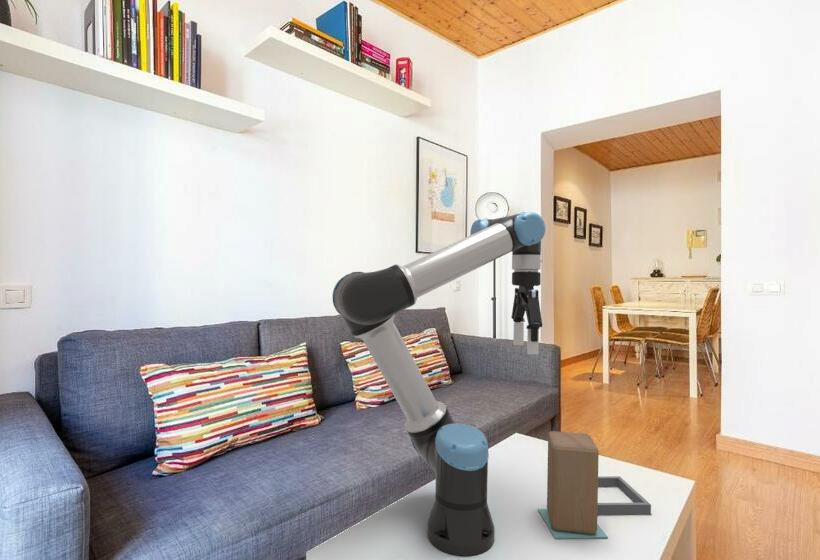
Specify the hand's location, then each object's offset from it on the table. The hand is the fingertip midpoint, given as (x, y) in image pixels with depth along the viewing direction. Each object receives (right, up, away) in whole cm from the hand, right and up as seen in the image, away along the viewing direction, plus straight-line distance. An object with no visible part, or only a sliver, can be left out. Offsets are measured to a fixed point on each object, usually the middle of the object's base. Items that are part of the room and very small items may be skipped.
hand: (525, 349), depth 119 cm
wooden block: (+7, -39, -15) cm, 42 cm away
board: (+7, -39, -15) cm, 42 cm away
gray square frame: (+21, -39, -3) cm, 44 cm away
